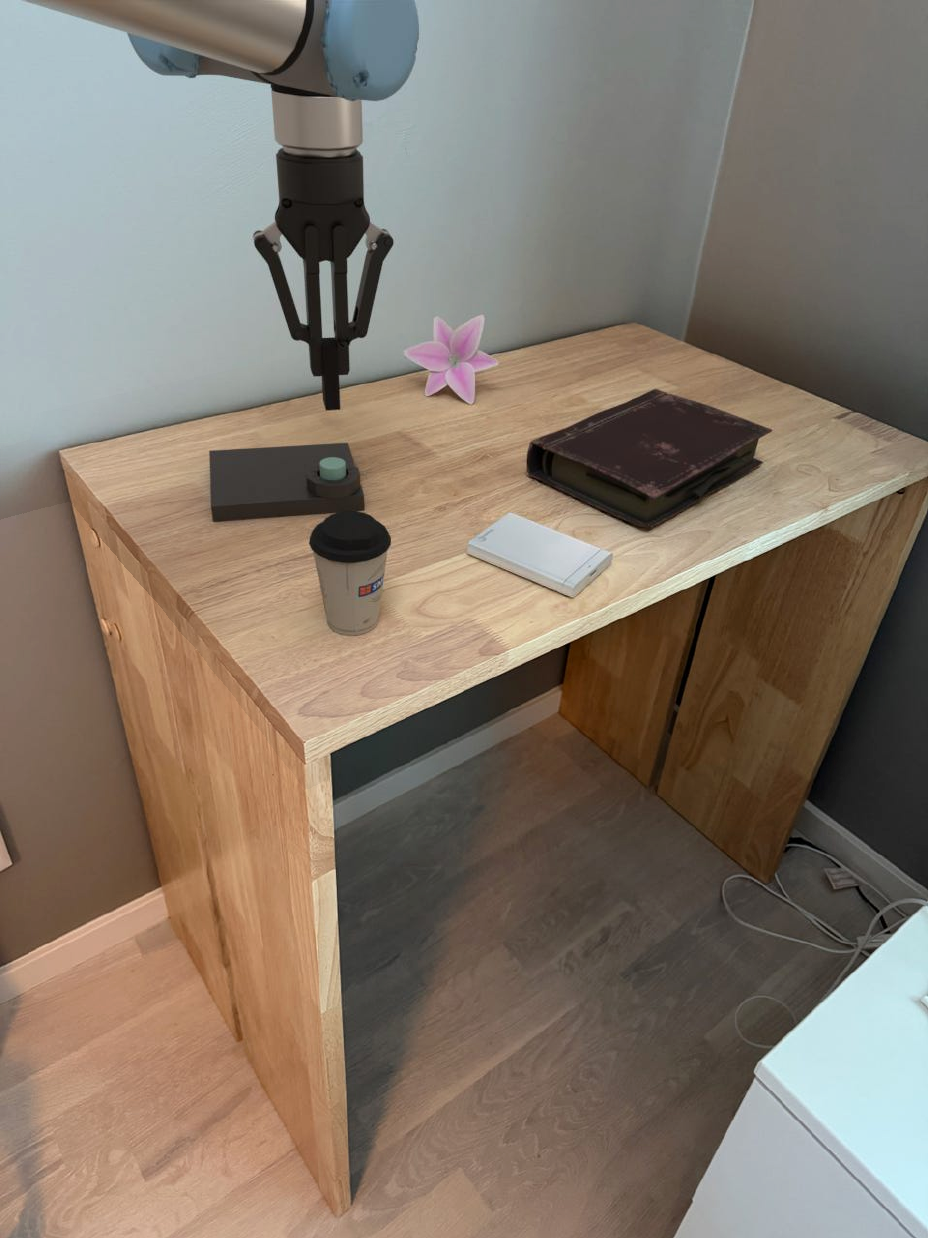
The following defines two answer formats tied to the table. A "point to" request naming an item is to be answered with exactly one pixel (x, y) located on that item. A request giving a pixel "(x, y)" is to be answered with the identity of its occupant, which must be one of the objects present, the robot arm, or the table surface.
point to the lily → (453, 357)
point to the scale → (281, 482)
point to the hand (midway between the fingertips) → (331, 404)
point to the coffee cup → (351, 569)
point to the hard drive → (540, 554)
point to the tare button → (332, 468)
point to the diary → (647, 456)
